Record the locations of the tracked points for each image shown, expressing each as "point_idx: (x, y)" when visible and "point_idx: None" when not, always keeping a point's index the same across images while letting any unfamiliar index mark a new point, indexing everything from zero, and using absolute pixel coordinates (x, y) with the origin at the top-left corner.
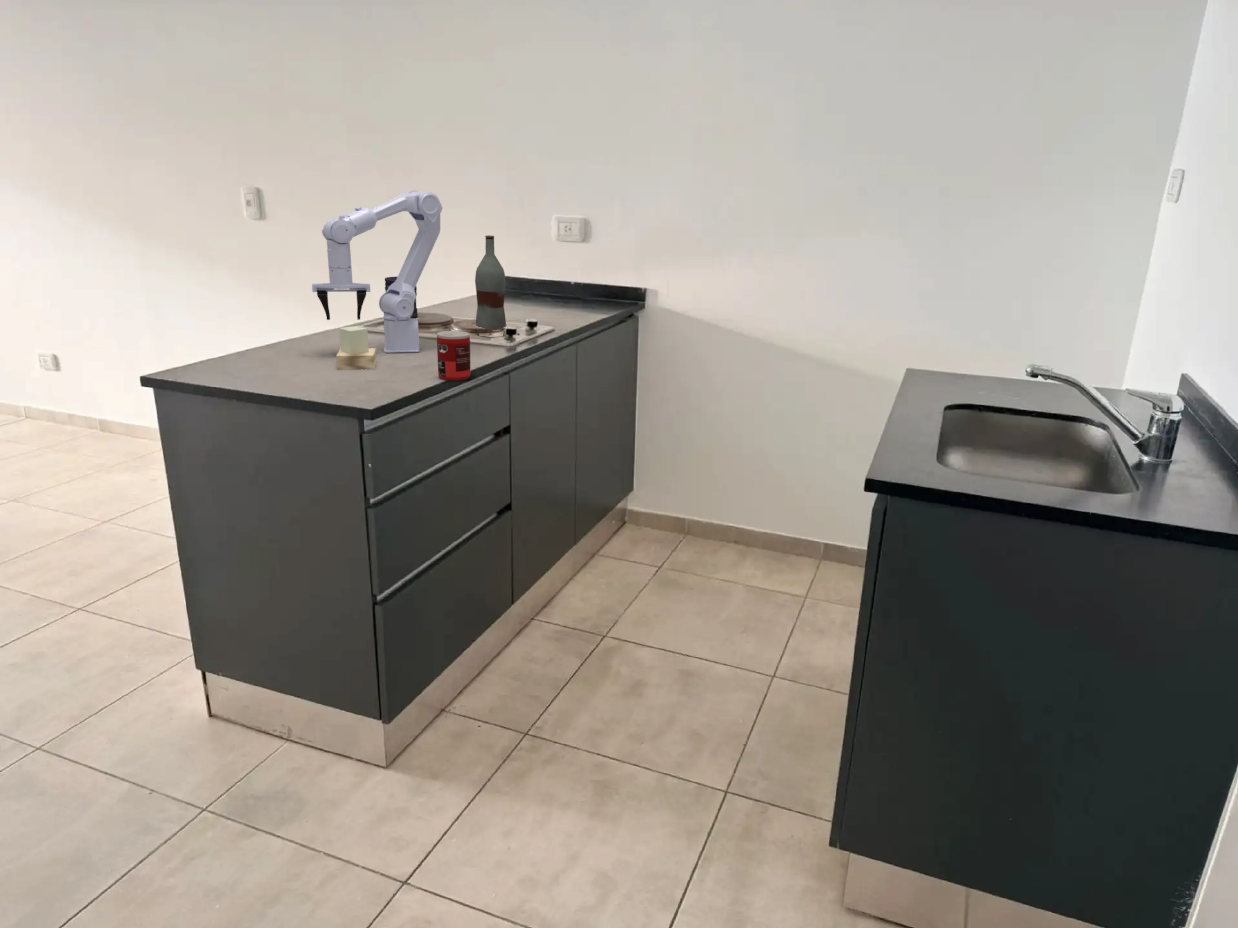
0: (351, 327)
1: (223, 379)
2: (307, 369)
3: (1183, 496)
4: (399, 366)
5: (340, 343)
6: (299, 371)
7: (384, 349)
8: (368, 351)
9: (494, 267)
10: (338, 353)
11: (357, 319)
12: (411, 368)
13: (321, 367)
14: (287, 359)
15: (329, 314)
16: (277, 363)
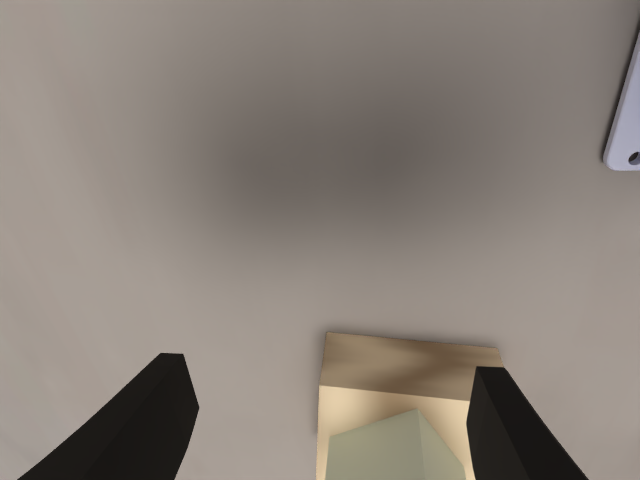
0: None
1: (12, 468)
2: (212, 415)
3: None
4: (581, 430)
5: (326, 478)
6: (192, 432)
7: (626, 111)
8: (463, 470)
9: None
10: (321, 464)
11: (466, 424)
12: (621, 461)
13: (257, 399)
14: (68, 257)
15: (169, 423)
16: (62, 321)
